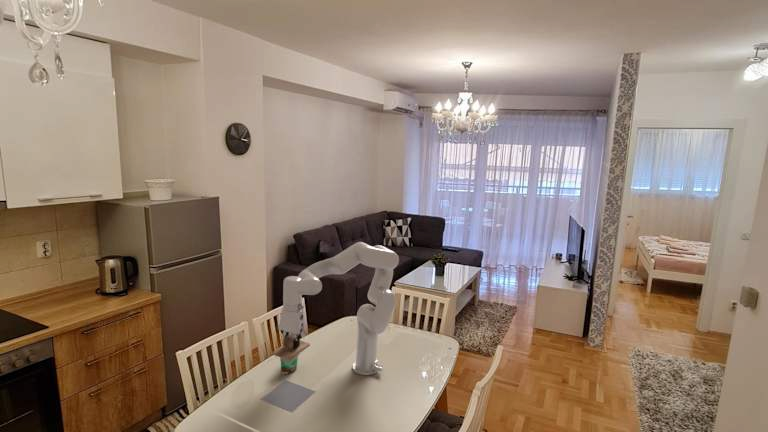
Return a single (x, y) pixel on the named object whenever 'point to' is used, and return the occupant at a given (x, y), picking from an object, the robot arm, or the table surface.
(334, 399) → the table surface
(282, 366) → the food container
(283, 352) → the walnut lid
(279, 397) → the rubber mat
